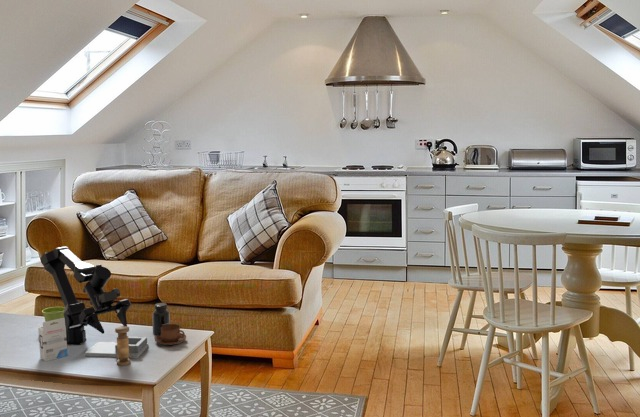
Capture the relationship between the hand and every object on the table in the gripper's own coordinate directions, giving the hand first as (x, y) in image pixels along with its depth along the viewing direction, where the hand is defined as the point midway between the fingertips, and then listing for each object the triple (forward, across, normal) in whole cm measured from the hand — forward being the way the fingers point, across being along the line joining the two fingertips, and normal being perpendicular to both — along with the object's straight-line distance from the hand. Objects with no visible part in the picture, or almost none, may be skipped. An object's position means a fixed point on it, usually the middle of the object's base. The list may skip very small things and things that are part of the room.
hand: (115, 329), depth 247 cm
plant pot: (-27, +2, +43) cm, 51 cm away
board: (+2, +5, +14) cm, 15 cm away
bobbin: (+11, 0, +5) cm, 12 cm away
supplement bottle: (-1, +29, +18) cm, 34 cm away
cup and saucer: (+7, +25, +10) cm, 28 cm away
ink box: (-6, -14, +22) cm, 27 cm away
